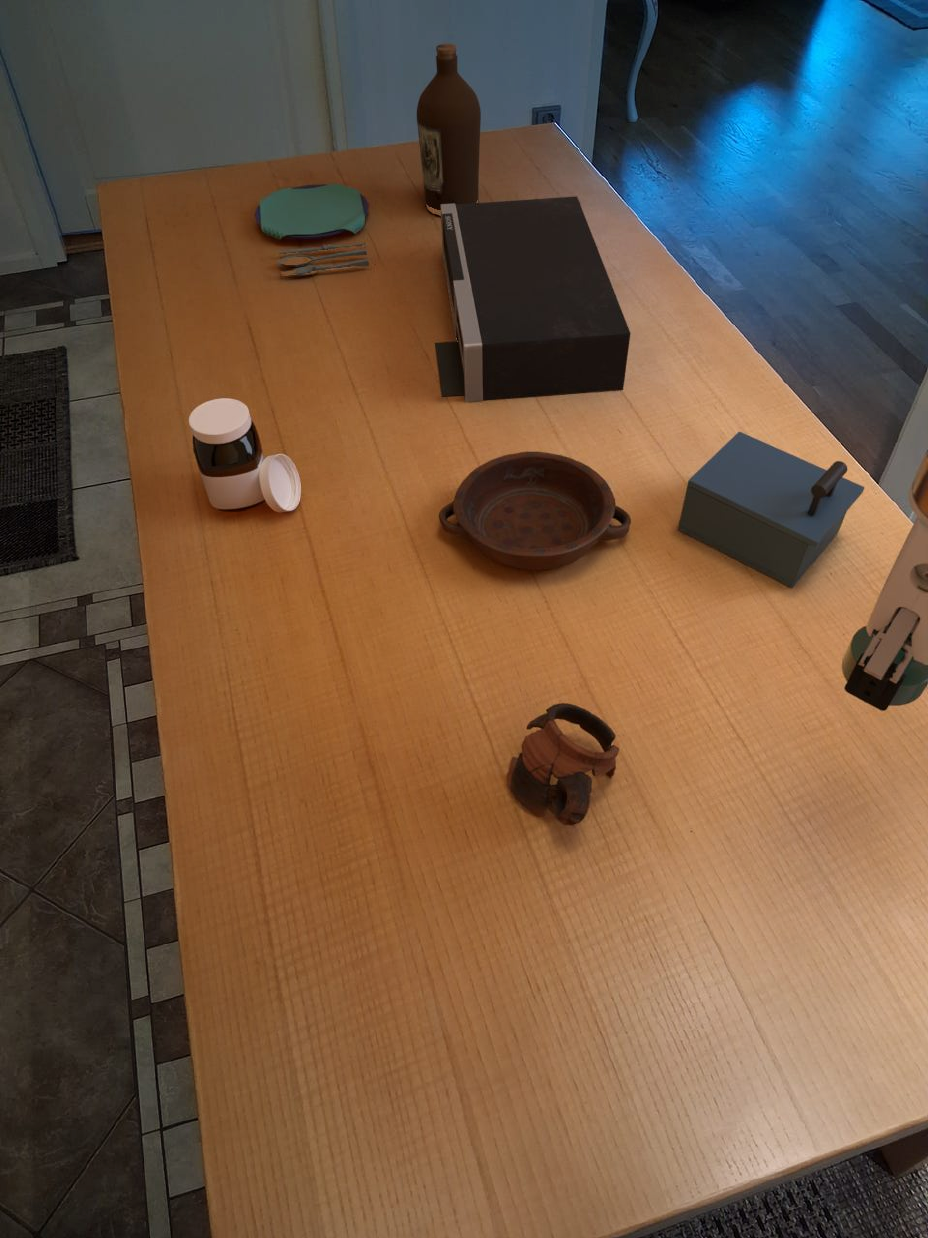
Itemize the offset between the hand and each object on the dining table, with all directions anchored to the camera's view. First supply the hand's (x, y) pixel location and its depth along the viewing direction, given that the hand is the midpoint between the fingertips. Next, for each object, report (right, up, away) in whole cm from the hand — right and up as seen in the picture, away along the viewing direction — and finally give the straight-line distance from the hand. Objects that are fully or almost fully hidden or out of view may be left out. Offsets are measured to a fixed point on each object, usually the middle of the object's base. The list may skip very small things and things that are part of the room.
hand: (885, 668), depth 67 cm
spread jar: (-57, +19, +43) cm, 74 cm away
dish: (-24, +14, +38) cm, 47 cm away
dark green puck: (0, 0, 0) cm, 1 cm away
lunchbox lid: (+3, +18, +31) cm, 36 cm away
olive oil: (-34, +77, +92) cm, 125 cm away
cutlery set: (-57, +70, +87) cm, 125 cm away
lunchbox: (+2, +14, +37) cm, 39 cm away
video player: (-24, +49, +68) cm, 87 cm away
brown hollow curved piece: (-23, -12, +16) cm, 30 cm away
